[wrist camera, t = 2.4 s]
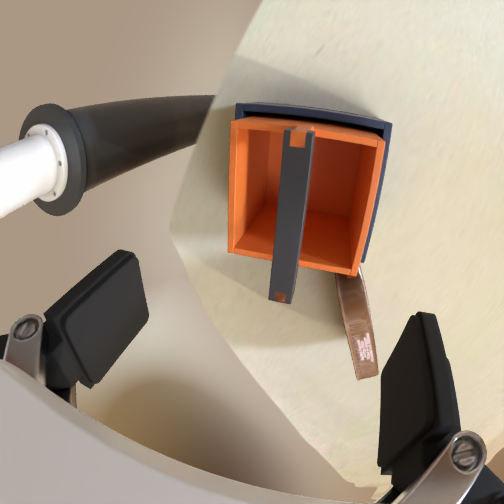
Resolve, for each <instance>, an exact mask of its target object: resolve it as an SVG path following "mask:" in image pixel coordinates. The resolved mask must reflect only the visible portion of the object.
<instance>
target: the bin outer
mask: <svg viewBox="0 0 504 504" xmlns="http://www.w3.org/2000/svg"><path fill="white" fill-rule="evenodd" d="M263 114H279V115H289V116H298V117H307V118H314V119H322V120H328V121H335V122H341V123H347V124H353V125H358V126H363V127H368V128H369V129H370V130H372V131H373V132H374V133H375V134H377V135H378V136H379V137H380V138H382V139H383V140H384V141H385V148H384V154H383V160H382V166H381V172H380V177H379V183H378V188H377V193H376V198H375V203H374V207H373V212H372V217H371V221H370V225H369V230H368V234H367V238H366V242H365V246H364V250H363V254H362V258H361V261H360V262H362V263H364V261H365V258H366V254H367V250H368V246H369V242H370V238H371V234H372V230H373V226H374V222H375V218H376V213H377V209H378V204H379V199H380V195H381V190H382V185H383V179H384V174H385V169H386V163H387V157H388V151H389V144H390V138H391V131H392V123H389V122H387V121H384V120H381V119H378V118H374V117H369V116H364V115H358V114H353V113H347V112H341V111H335V110H328V109H321V108H313V107H305V106H296V105H286V104H274V103H260V102H257V103H236V112H235V120H237V119H242V118H247V117H252V116H257V115H263Z"/></svg>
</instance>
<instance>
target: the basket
mask: <svg viewBox="0 0 504 504" xmlns="http://www.w3.org/2000/svg"><path fill="white" fill-rule="evenodd" d="M384 148H385V141H384V140H383V139H382V138H380V137H379V136H378V135H377V134H375V133H374V132H373V131H372V130H370V129H369V128H368V127H363V126H358V125H353V124H347V123H341V122H335V121H328V120H322V119H314V118H307V117H298V116H289V115H279V114H263V115H257V116H252V117H247V118H242V119H237V120H233V121H231V125H230V156H229V197H228V253H234V254H239V255H244V256H249V257H255V258H260V259H265V260H271V261H272V269H271V278H270V288H269V298H268V299H269V300H272V301H277V302H282V303H287V304H291V302H292V298H293V294H294V290H295V284H296V278H297V272H298V266H303V267H308V268H314V269H319V270H324V271H330V272H335V273H341V274H346V275H352V276H357V272H358V269H359V265H360V261H361V258H362V254H363V250H364V246H365V242H366V238H367V234H368V230H369V225H370V221H371V217H372V212H373V207H374V203H375V198H376V193H377V188H378V183H379V177H380V172H381V166H382V160H383V154H384Z"/></svg>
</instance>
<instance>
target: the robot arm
mask: <svg viewBox="0 0 504 504" xmlns="http://www.w3.org/2000/svg"><path fill="white" fill-rule="evenodd" d="M67 177H68V163H67V156H66V151H65V148H64V145H63V142H62V140H61V138H60V136H59V135H58V133H57V132H56V131H55V129H54V128H53V127H51V126H50V125H48V124H45V123H41V124H37V125H34V126H33V127H31V128H30V129H29V130H28V132H27V133H26V135H25V138H24V139H22V140H19V141H16V142H13V143H10V144H7V145H5V146H2V147H0V219H1V218H2V217H4V216H6V215H7V214H9V213H11V212H12V211H14V210H16V209H18V208H20V207H21V206H23V205H25V204H27V203H29V202H31V201H32V200H34V199H36V198H40V199H41V200H43V201H47V202H50V201H53V200H55V199H57V198H58V197H60V196H61V194H62V193H63V191H64V189H65V187H66V183H67ZM44 316H45V318H46V321H45V322H44V323H43V320H42V318H41V317H39V316H38V315H35V314H29V315H25V316H23V317H21V318H19V319H18V320H17V321H15V323H14V324H13V325H12V327H11V329H10V332H9V334H6V335H1V336H0V504H504V483H503V482H502V481H501V480H500V479H499V478H498V477H497V476H496V475H495V474H494V473H493V472H492V471H491V470H490V469H489V468H488V467H487V466H486V465H485V461H486V456H487V450H486V445H485V443H484V441H483V439H482V438H481V437H480V436H479V435H478V434H476V433H474V432H472V431H467V430H466V431H461V426H460V418H459V411H458V404H457V398H456V392H455V387H454V381H453V376H452V371H451V367H450V363H449V360H448V358H447V357H446V353H445V349H444V345H443V341H442V337H441V333H440V329H439V326H438V322H437V319H436V316H435V314H431V313H425V312H417V313H416V315H412V316H411V317H410V318H409V320H408V322H407V324H406V327H405V329H404V331H403V333H402V335H401V337H400V339H399V341H398V343H397V344H396V346H395V348H394V350H393V352H392V354H391V356H390V358H389V359H388V361H387V363H386V365H385V367H384V368H383V371H382V374H381V407H380V432H379V447H378V459H377V464H378V467H381V475H392V479H391V484H392V485H391V486H390V487H389V488H388V489H387V490H386V491H385V492H384V493H383V494H382V495H381V496H380V497H379V498H378V499H377V500H376V501H374V502H373V503H359V502H346V501H336V500H328V499H320V498H313V497H307V496H301V495H295V494H289V493H284V492H279V491H274V490H270V489H265V488H261V487H256V486H252V485H249V484H245V483H242V482H238V481H234V480H230V479H228V478H225V477H221V476H218V475H215V474H212V473H209V472H206V471H203V470H200V469H198V468H195V467H192V466H190V465H187V464H184V463H182V462H179V461H177V460H174V459H172V458H169V457H167V456H164V455H162V454H160V453H158V452H156V451H153V450H151V449H149V448H147V447H144V446H143V445H141V444H139V443H137V442H135V441H133V440H131V439H129V438H127V437H125V436H123V435H121V434H119V433H117V432H115V431H114V430H112V429H110V428H108V427H106V426H104V425H103V424H101V423H99V422H98V421H96V420H94V419H93V418H91V417H89V416H87V415H86V414H84V413H83V412H81V411H80V410H78V409H77V405H76V382H77V381H78V380H79V381H80V383H81V384H83V385H85V386H86V387H88V388H90V389H91V388H92V387H93V386H94V384H97V383H99V382H100V381H101V380H102V378H103V377H104V376H105V374H106V373H107V372H108V370H109V369H110V368H111V367H112V365H113V364H114V363H115V362H116V360H117V359H118V358H119V356H120V355H121V354H122V353H123V351H124V350H125V349H126V348H127V346H128V345H129V344H130V343H131V341H132V340H133V339H134V338H135V336H136V335H137V334H138V333H139V331H140V330H141V329H142V327H143V326H144V325H145V324H146V323H147V321H148V318H149V312H148V307H147V303H146V298H145V293H144V288H143V283H142V278H141V273H140V267H139V261H138V259H137V258H136V256H135V254H134V253H132V252H129V251H124V250H117V251H116V252H115V253H113V254H112V255H111V256H110V257H108V258H107V259H106V260H105V261H103V262H102V263H101V264H100V265H99V266H97V267H96V268H95V269H94V270H92V271H91V272H90V273H89V274H88V275H87V276H85V277H84V278H83V279H82V280H81V281H80V282H78V283H77V284H76V285H75V286H74V287H73V288H71V289H70V290H69V291H68V292H67V293H66V294H65V295H63V297H61V298H60V299H59V300H58V301H57V302H56V303H55V304H53V305H52V306H51V307H50V308H49V309H48V310H47V311H46V312H45V313H44Z"/></svg>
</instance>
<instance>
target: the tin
mask: <svg viewBox="0 0 504 504" xmlns="http://www.w3.org/2000/svg"><path fill="white" fill-rule="evenodd" d="M335 278H336V285H337V292H338V298H339V303H340V308H341V313H342V317H343V322H344V327H345V331H346V335H347V339H348V343H349V347H350V351H351V356H352V360H353V365H354V369H355V374H356V378H357V380H360V379H364V378H369V377H374V376H377V375H378V374H379V371H378V363H377V355H376V347H375V340H374V334H373V328H372V322H371V315H370V309H369V303H368V298H367V293H366V288H365V284H364V280H363V276H362V271H361V267H360V265H359V269H358V272H357V276H352V275H346V274H341V273H335Z"/></svg>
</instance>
